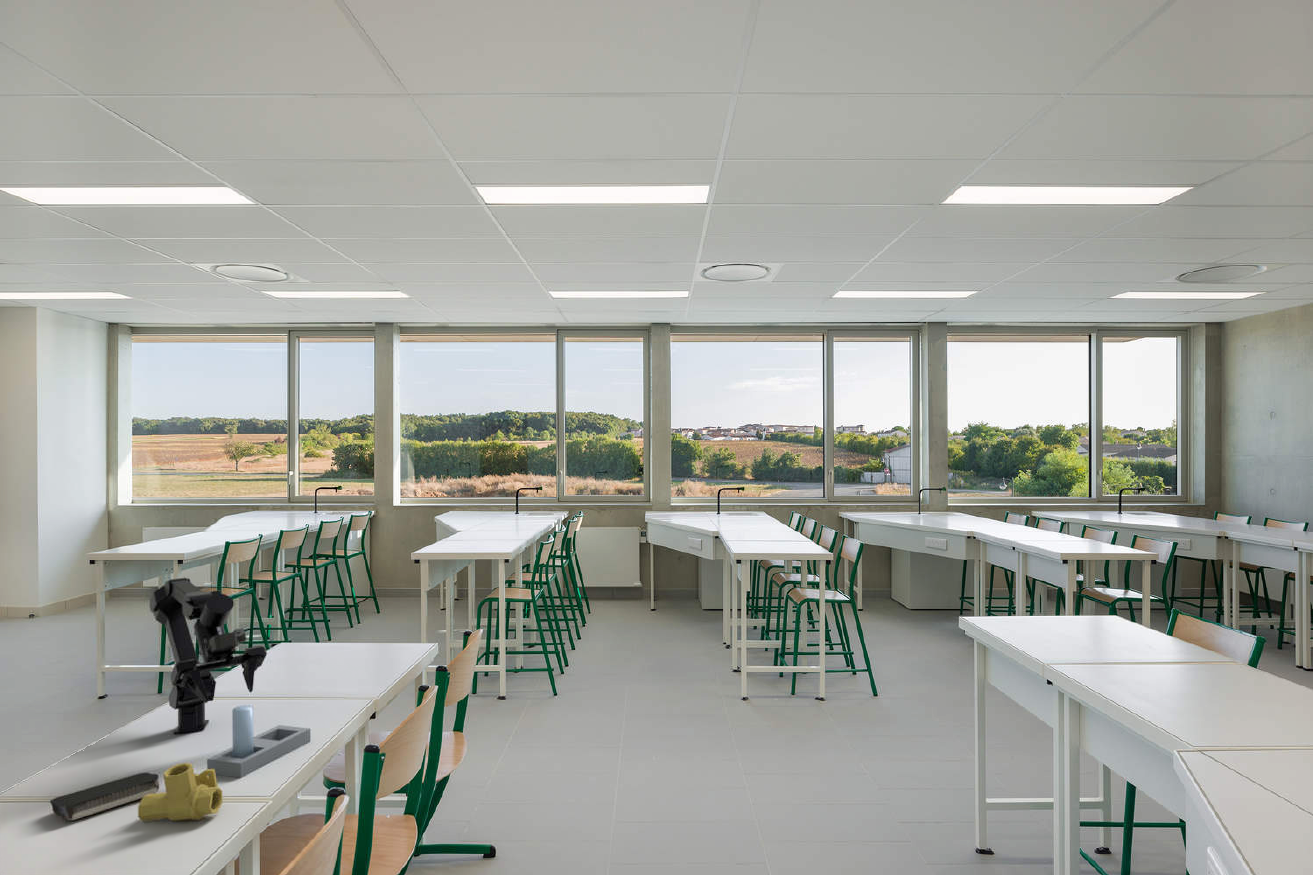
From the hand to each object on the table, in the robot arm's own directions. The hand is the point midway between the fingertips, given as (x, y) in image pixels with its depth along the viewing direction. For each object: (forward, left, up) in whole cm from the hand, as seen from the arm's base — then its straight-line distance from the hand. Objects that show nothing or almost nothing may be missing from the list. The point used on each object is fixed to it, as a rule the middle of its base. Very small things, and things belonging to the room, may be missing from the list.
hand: (229, 696), depth 168 cm
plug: (+7, +4, -13) cm, 16 cm away
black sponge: (+17, -18, -14) cm, 29 cm away
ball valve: (+27, -3, -14) cm, 31 cm away
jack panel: (+3, +7, -13) cm, 15 cm away
